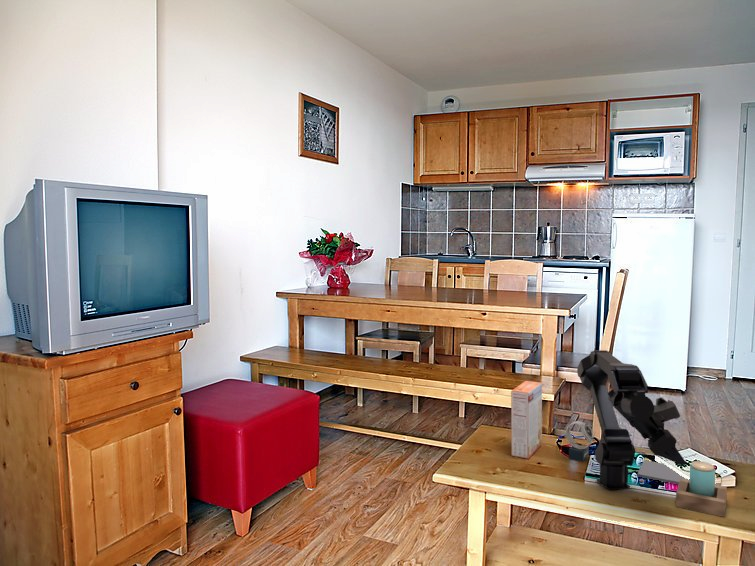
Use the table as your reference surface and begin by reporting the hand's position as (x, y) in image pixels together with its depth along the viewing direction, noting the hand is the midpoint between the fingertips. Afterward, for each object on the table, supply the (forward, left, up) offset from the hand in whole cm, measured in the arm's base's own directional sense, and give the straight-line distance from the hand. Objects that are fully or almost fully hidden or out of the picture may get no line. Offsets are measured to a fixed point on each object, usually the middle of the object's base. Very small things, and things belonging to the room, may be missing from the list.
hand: (679, 456), depth 151 cm
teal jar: (+5, -2, -12) cm, 13 cm away
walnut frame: (+5, -2, -12) cm, 13 cm away
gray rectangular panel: (+11, +13, -12) cm, 21 cm away
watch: (-8, +33, -12) cm, 36 cm away
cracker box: (-21, +42, -12) cm, 48 cm away
